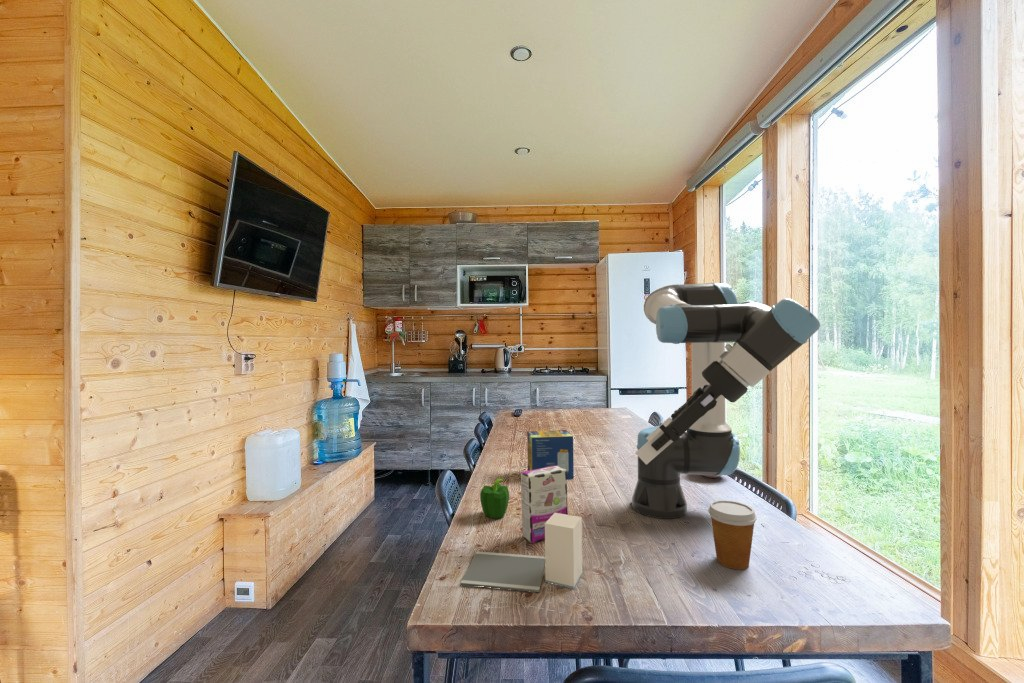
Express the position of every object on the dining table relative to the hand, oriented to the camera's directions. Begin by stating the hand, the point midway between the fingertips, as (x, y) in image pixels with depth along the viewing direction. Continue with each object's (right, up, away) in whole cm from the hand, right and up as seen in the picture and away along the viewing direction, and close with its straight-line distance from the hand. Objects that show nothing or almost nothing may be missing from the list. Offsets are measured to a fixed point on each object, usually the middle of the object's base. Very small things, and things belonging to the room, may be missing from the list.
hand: (646, 450), depth 83 cm
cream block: (-15, -28, +5) cm, 32 cm away
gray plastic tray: (-27, -28, +8) cm, 40 cm away
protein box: (-12, -28, +73) cm, 79 cm away
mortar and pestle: (+44, -27, +69) cm, 86 cm away
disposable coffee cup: (+22, -27, +11) cm, 37 cm away
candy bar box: (-18, -28, +25) cm, 42 cm away
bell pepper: (-31, -28, +37) cm, 56 cm away
